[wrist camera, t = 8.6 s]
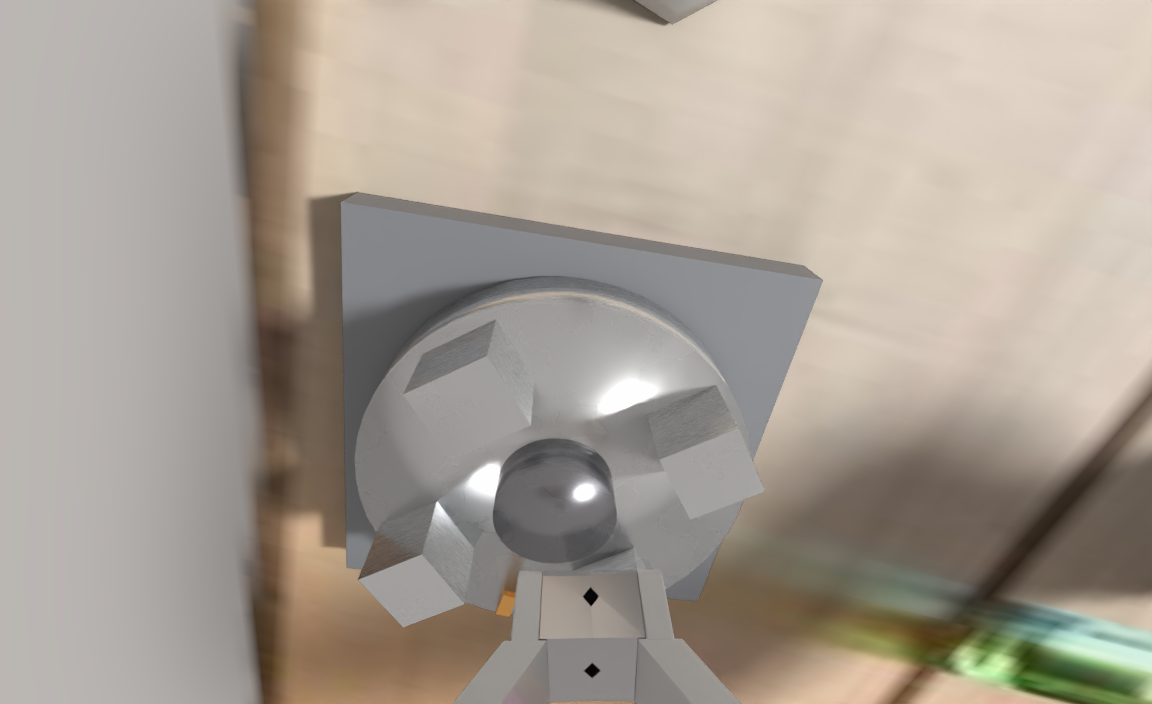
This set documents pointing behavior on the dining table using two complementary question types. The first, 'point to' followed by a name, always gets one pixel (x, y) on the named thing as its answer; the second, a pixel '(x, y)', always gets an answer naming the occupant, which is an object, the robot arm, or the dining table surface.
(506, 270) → the flat gray base plate
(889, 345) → the dining table surface
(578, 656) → the robot arm
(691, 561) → the domed disc mount
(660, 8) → the flask
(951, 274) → the dining table surface
